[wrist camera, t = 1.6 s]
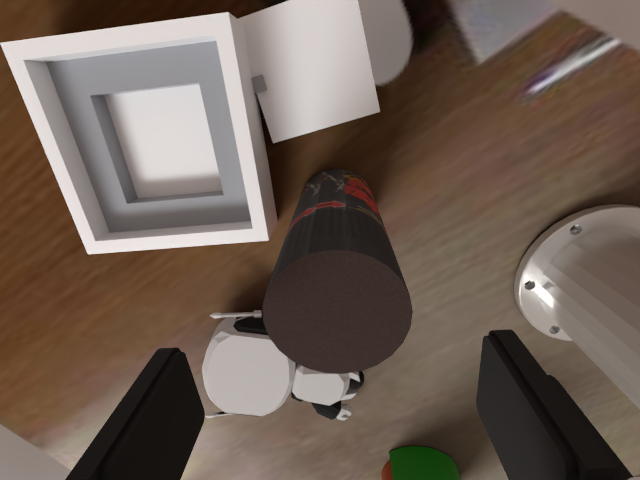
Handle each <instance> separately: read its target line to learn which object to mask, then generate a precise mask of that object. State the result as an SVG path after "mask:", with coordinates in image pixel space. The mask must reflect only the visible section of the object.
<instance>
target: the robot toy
mask: <svg viewBox="0 0 640 480" xmlns="http://www.w3.org/2000/svg"><path fill="white" fill-rule="evenodd" d="M210 316H211V317H213V318H221V317H226V318H225V319H224V320H223V321H222V322H221V323H220V324H219V325H218V326H217V328H216V330H215V332H214V334H213V336H212V339H211V341H210V344H209V346H208V349H207V351H206V355H205V359H204V362H203V366H202V373H203V379H204V385H205V388H206V391H207V394H208V396H209V398H210V399H211V400H212V402H213V403H214V404H215V405H216V406H217V407H219V408H220V409H221V410H222V411H224V412H216V413H214V412H210V413H207V414H206V415H205V417H207V418H213V417H216V416H223V415H231V414H241V415H251V416H264V415H266V414H268V413H271V412H273V411H275V410H276V409H277V408H279V407H280V406H281V405H282V404H283V403H284V402H285V400H286V398H287V397H288V395H289V393H290V391H291V388H292V393H291V394H292V398H293V399H296V400H298V401H300V402H301V401H303V400H305V401H309V402H311V403H312V405H313V407H314V408H315V410H316V411H317V413H318V414H320V415H323V416H325V417H327V418H329V419H331V420H332V419H335V418H336V417H337V419H339V420H346V419H347V418H348V415H349V416H350V415H351V414H352V409H351V407H349V406H348V405H347V404H341V400H346V399H351V398H352V397H353V396H355V395H356V394H357V391H356V389H358V388H360V387H361V386H362V385H363V383H364V374H363V372H362V371H358V372H352V373H345V374H336V373H323V372H319V371H315V370H311V369H308V368H306V367H303V366H301V365H299V364H297V363H295V362H293V361H292V360H290V359H289V358H288V357H287V356H285V355H284V354H283V353H282V352H280V351H279V350H278V348H277V347H276V346H275V344H274V343H273V342H272V340H271V339H270V338H269V335H268V333H267V330H266V328H265V325H264V323H263V313H261V310H254V312H240V313H221V312H218V313H213V314H211V315H210Z"/></svg>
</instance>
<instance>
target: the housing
mask: <svg viewBox="0 0 640 480" xmlns="http://www.w3.org/2000/svg"><path fill="white" fill-rule="evenodd" d="M0 44H1V46H2V49H3V51H4V54H5V56H6V58H7V61H8V63H9V66H10V68H11V70H12V73H13V75H14V78H15V80H16V82H17V85H18V87H19V90H20V92H21V95H22V97H23V99H24V102H25V104H26V107H27V109H28V111H29V114H30V116H31V119H32V121H33V123H34V126H35V128H36V131H37V133H38V135H39V138H40V140H41V143H42V145H43V147H44V150H45V152H46V155H47V157H48V160H49V162H50V164H51V167H52V169H53V172H54V174H55V176H56V179H57V181H58V184H59V186H60V188H61V191H62V193H63V196H64V198H65V200H66V203H67V205H68V208H69V210H70V212H71V215H72V217H73V220H74V222H75V225H76V227H77V229H78V232H79V234H80V237H81V239H82V241H83V244H84V246H85V249H86V251H87V253H88V254H99V253H112V252H125V251H138V250H151V249H164V248H177V247H190V246H203V245H216V244H229V243H242V242H255V241H268V240H269V239H270V237H271V235H272V233H273V230H274V228H275V226H276V224H277V222H278V220H277V214H276V208H275V201H274V195H273V189H272V183H271V177H270V170H269V164H268V158H267V152H266V146H265V139H264V133H263V127H262V121H261V115H260V108H259V102H258V96H257V94H254V91H253V85H252V79H251V78H252V75H251V68H250V62H249V56H248V50H247V44H246V38H245V32H244V26H243V23H242V22H240V21H239V20H238V19H237V18H235V17H234V16H233V15H232V14H230V13H229V12H225V13H217V14H210V15H202V16H195V17H188V18H180V19H173V20H166V21H158V22H151V23H144V24H136V25H129V26H122V27H114V28H107V29H99V30H92V31H85V32H77V33H70V34H63V35H55V36H48V37H41V38H33V39H26V40H18V41H11V42H4V43H0Z"/></svg>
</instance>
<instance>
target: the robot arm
mask: <svg viewBox="0 0 640 480" xmlns="http://www.w3.org/2000/svg"><path fill="white" fill-rule="evenodd" d="M514 292H515V298H516V302H517V305H518V307H519V309H520V311H521V312H522V314H523V315H524V317H525V318H526V319H527V320H528V321H529V322H530V324H531V325H533V326H534V327H535V328H536V329H538V330H539V331H540V332H542V333H544V334H546V335H548V336H550V337H553V338H557V339H561V340H566V341H574V342H575V343H576V344H577V345H578V346H579V347H580V348H581V350H582V351H583V352H584V353H585V354H586V355H587V356H588V357H589V358H590V359H591V360H592V361H593V362H594V363H595V364H596V365H597V366H598V367H599V368H600V369H601V370H602V371H603V372H604V373H605V374H606V375H607V376H608V377H609V378H610V379H611V380H612V381H613V382H614V383H615V385H616V386H617V387H618V388H619V389H620V390H621V391H622V392H623V393H624V394H625V395H626V396H627V397H628V398H629V399H630V400H631V401H632V402H633V403H634V404H635V405H636V406H637V407H638V408H639V409H640V207H637V206H634V205H624V204H611V205H601V206H596V207H592V208H588V209H584V210H582V211H580V212H577V213H575V214H572V215H570V216H568V217H566V218H564V219H563V220H561V221H559V222H557V223H556V224H554V225H553V226H551V227H550V228H549V229H548V230H546V231H545V232H544V233H543V234H541V235H540V236H539V238H538V239H537V240H536V241H535V242H534V243H533V244H532V245H531V246H530V248H529V249H528V251H527V252H526V254H525V255H524V257H523V258H522V260H521V262H520V265H519V267H518V269H517V272H516V277H515V282H514ZM476 403H477V409H478V412H479V415H480V417H481V419H482V421H483V423H484V426H485V428H486V430H487V432H488V435H489V437H490V439H491V441H492V443H493V446H494V448H495V450H496V452H497V454H498V457H499V459H500V461H501V463H502V465H503V468H504V470H505V472H506V474H507V477H508V479H509V480H640V477H633V476H632V475H631V473H630V472H629V471H628V470H627V468H626V467H625V466H624V464H623V463H622V462H621V461H620V459H619V458H618V457H617V456H616V454H615V453H614V452H613V450H612V449H611V448H610V447H609V445H608V444H607V443H606V441H605V440H604V439H603V438H602V436H601V435H600V434H599V433H598V431H597V430H596V429H595V427H594V426H593V425H592V424H591V422H590V421H589V420H588V418H587V417H586V416H585V415H584V413H583V412H582V411H581V410H580V408H579V407H578V406H577V404H576V403H575V402H574V401H573V399H572V398H571V397H570V396H569V394H568V393H567V392H566V390H565V389H564V388H563V387H562V385H561V384H560V383H559V382H558V381H557V380H556V379H555V378H554V377H553V376H551V375H547V374H546V373H545V372H544V370H543V369H542V368H541V366H540V365H539V364H538V363H537V361H536V360H535V359H534V357H533V356H532V355H531V353H530V352H529V351H528V349H527V348H526V347H525V345H524V344H523V343H522V341H521V340H520V339H519V338H518V336H517V335H516V334H515V332H514V331H513V330H493V331H490V332H489V336H484V338H483V344H482V353H481V363H480V372H479V381H478V390H477V399H476ZM204 417H205V413H204V408H203V405H202V402H201V399H200V396H199V393H198V390H197V387H196V384H195V381H194V378H193V375H192V372H191V370H190V367H189V364H188V361H187V358H186V355H185V353H184V352H181V351H180V349H179V348H161V349H158V350H157V351H156V352H155V354H154V355H153V356H152V358H151V359H150V361H149V362H148V364H147V365H146V366H145V368H144V369H143V371H142V372H141V373H140V375H139V376H138V378H137V379H136V380H135V382H134V383H133V385H132V386H131V388H130V389H129V390H128V392H127V393H126V395H125V396H124V397H123V399H122V400H121V402H120V403H119V405H118V406H117V407H116V409H115V410H114V412H113V413H112V414H111V416H110V417H109V419H108V420H107V422H106V423H105V424H104V426H103V427H102V429H101V430H100V431H99V433H98V434H97V436H96V437H95V438H94V440H93V441H92V443H91V444H90V446H89V447H88V448H87V450H86V451H85V453H84V454H83V455H82V457H81V458H80V460H79V461H78V463H77V464H76V465H75V467H74V468H73V470H72V471H71V472H70V474H69V475H68V477H67V478H66V479H65V480H180V479H181V477H182V474H183V472H184V469H185V467H186V464H187V462H188V459H189V457H190V454H191V452H192V450H193V447H194V445H195V442H196V440H197V437H198V435H199V432H200V430H201V427H202V425H203V422H204Z"/></svg>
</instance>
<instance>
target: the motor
mask: <svg viewBox="0 0 640 480" xmlns="http://www.w3.org/2000/svg"><path fill="white" fill-rule="evenodd" d="M389 454H390V461H389V462H387V463H386V465H385V466H384V467H383V469H382V480H461V479H460V476H459V472H458V469H457V466H456V464H455V462H454V461H453V460H452V459H451V458H450V457H449V456H448V455H446V454H444V453H443V452H441V451H438V450H435V449H432V448H428V447H420V446H410V447H402V448H398V449H395V450H392V451H389Z"/></svg>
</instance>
